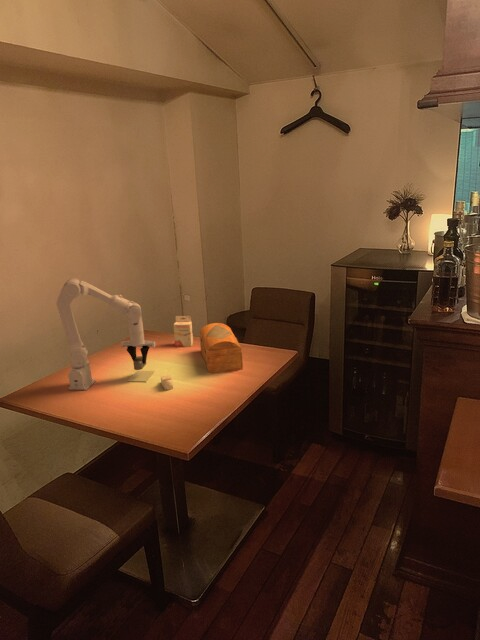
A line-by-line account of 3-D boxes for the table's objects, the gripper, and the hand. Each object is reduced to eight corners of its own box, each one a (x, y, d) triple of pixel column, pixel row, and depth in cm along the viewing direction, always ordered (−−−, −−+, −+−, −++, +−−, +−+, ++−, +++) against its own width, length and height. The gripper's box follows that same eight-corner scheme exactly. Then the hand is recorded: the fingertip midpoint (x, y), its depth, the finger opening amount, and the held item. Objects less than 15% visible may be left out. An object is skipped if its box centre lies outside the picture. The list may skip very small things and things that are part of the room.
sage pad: (146, 382, 194) (146, 381, 194) (127, 381, 196) (127, 380, 196) (154, 371, 205) (154, 370, 205) (137, 371, 206) (137, 370, 206)
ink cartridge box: (174, 346, 236) (172, 318, 232) (177, 343, 241) (174, 315, 237) (191, 346, 235) (189, 318, 231) (193, 343, 240) (191, 315, 236)
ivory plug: (173, 389, 186) (173, 380, 185) (165, 390, 185) (164, 382, 184) (168, 380, 195) (167, 373, 194) (160, 382, 193) (159, 374, 192)
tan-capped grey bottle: (140, 370, 195) (140, 362, 194) (132, 370, 195) (131, 362, 194) (148, 361, 203) (147, 354, 202) (140, 361, 204) (139, 354, 203)
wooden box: (245, 369, 203) (243, 339, 199) (207, 374, 200) (205, 343, 196) (233, 347, 231) (232, 320, 227) (200, 350, 229) (198, 323, 225)
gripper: (156, 329, 197) (159, 359, 201) (123, 329, 200) (127, 359, 203) (150, 334, 191) (154, 365, 194) (117, 334, 193) (121, 365, 197)
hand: (140, 362), depth 198 cm, fingers closed on tan-capped grey bottle, 3 cm apart
